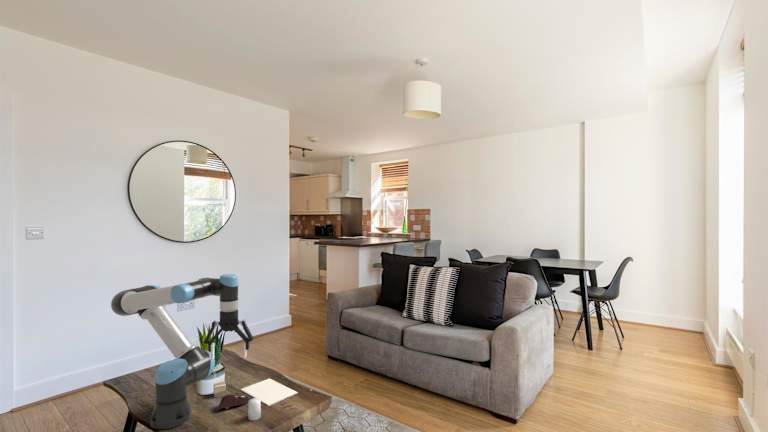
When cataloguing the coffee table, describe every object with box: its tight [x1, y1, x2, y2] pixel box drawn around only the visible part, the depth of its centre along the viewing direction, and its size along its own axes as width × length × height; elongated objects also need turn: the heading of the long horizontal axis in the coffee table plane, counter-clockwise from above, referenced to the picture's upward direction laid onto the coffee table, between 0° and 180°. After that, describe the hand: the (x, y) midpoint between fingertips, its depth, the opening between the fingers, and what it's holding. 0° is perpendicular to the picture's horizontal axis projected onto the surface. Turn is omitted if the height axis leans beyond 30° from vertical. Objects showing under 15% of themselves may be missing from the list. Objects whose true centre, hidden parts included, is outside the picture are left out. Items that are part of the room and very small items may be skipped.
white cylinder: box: [247, 397, 262, 421], centre depth 160 cm, size 5×5×7 cm
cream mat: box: [240, 378, 298, 407], centre depth 183 cm, size 24×16×1 cm, turn 50°
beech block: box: [213, 380, 227, 399], centre depth 181 cm, size 5×5×5 cm
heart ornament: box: [217, 393, 251, 410], centre depth 170 cm, size 6×12×11 cm
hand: (229, 358), depth 166 cm, fingers open, 13 cm apart
